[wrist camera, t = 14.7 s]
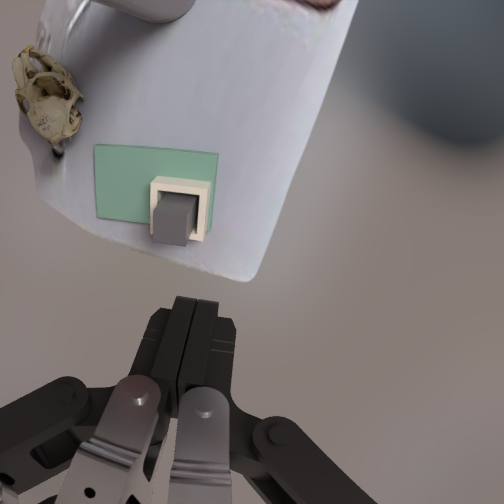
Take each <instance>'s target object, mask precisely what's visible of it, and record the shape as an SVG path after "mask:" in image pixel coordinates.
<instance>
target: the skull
mask: <svg viewBox="0 0 504 504" xmlns="http://www.w3.org/2000/svg"><path fill="white" fill-rule="evenodd" d="M29 57H31V58H35V59H37V60H38V61H39V62H40V63H41V65H42V67H43V72H40V71H39V70H38V69H37V68H36V67H34V66H33V65H32V63H31V62H30V60H29ZM12 70H13V73H14V77H15V80H16V82H17V85H18V89H17V90H15V95H16V100H17V102H18V105H19V107H20V109H21V111H22V113H23V114H25V115H26V116H27V117H28V118H29V120H30V123H31V124H32V126H33V128H34V129H35V130H36V131H37V132H38V133H39V134H40V135H41V136H42V137H44V138H46V139H48V140H49V143H50V144H52V145H53V146H55V145H56V144H57V143H59V142H60V141H61V140H63V139H65V138H67V137H71V136H72V135H74V134H75V133H76V132H77V130H78V128H79V126H80V123H81V121H82V117H81V113H80V111H79V110H77V109H76V108H75V107H74V105H75V103H76V100H77V98H78V97H81V98H82V100H83V102H84V97H83V95H82V94H81V93H80V92H79V91H78V89H77V86H76V84H75V82H74V80H73V77H72V75H71V74H70V72H69V71H68V70H67V69H66V68H65V67H63V66H62V65H60V64H59V63H58V62H56V61H55V60H54V59H53V58H52V57H50V56H49V55H47V54H45V53H43V52H40V51H37V50H34V45H30V46H28V47H27V48H25V49H24V50H23V51H22V52H21V53H20V54H19V55H18V56H17V57H16V58H15V59H14V60H13V61H12ZM67 91H70V95H71V96H70V98H69V100H65V95H67ZM24 98H25V99H26V100H27V101H28V103H29V105H30V107H29V111H28V112H27V110H26V109H25V107H24V105H23V100H24Z"/></svg>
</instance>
